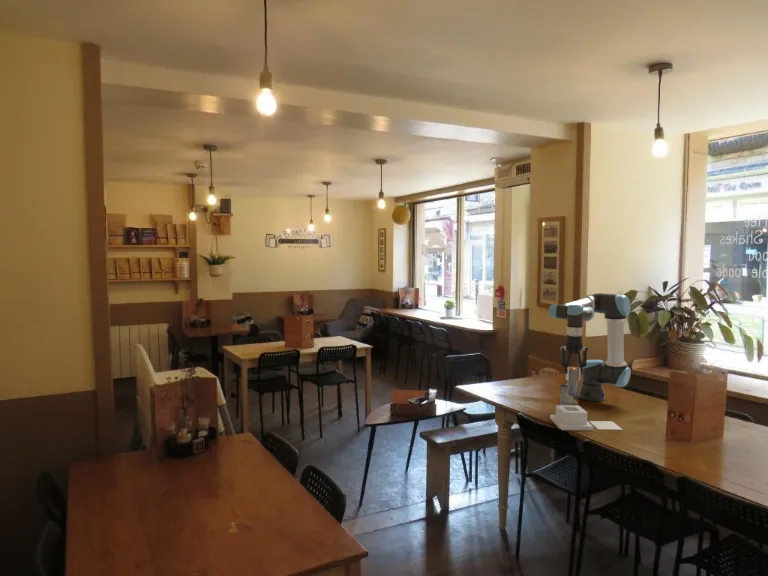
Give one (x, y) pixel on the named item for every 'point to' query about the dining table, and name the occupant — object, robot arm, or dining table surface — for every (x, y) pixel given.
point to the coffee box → (567, 397)
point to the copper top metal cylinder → (572, 382)
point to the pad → (605, 425)
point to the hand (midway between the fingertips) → (572, 379)
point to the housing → (571, 418)
